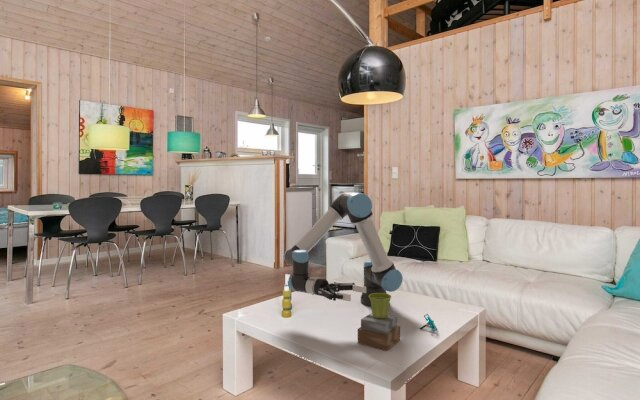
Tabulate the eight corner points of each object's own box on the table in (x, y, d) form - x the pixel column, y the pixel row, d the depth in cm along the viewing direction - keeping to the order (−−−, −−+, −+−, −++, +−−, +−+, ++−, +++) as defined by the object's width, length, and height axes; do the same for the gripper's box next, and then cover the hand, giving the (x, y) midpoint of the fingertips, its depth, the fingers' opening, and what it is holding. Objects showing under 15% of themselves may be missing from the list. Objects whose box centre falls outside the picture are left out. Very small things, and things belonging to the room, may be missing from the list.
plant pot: (378, 321, 160) (378, 300, 160) (364, 315, 168) (364, 294, 168) (396, 317, 165) (396, 297, 164) (381, 311, 173) (381, 291, 172)
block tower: (372, 333, 174) (372, 310, 174) (400, 340, 167) (400, 316, 166) (357, 343, 164) (357, 319, 163) (386, 351, 156) (386, 326, 156)
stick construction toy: (438, 329, 172) (427, 313, 175) (424, 337, 173) (414, 321, 176) (439, 327, 183) (430, 312, 186) (426, 335, 184) (417, 320, 187)
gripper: (332, 288, 193) (371, 295, 181) (301, 301, 172) (343, 310, 160) (332, 272, 192) (371, 278, 180) (301, 284, 172) (342, 292, 160)
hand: (358, 293), depth 170 cm, fingers open, 13 cm apart
